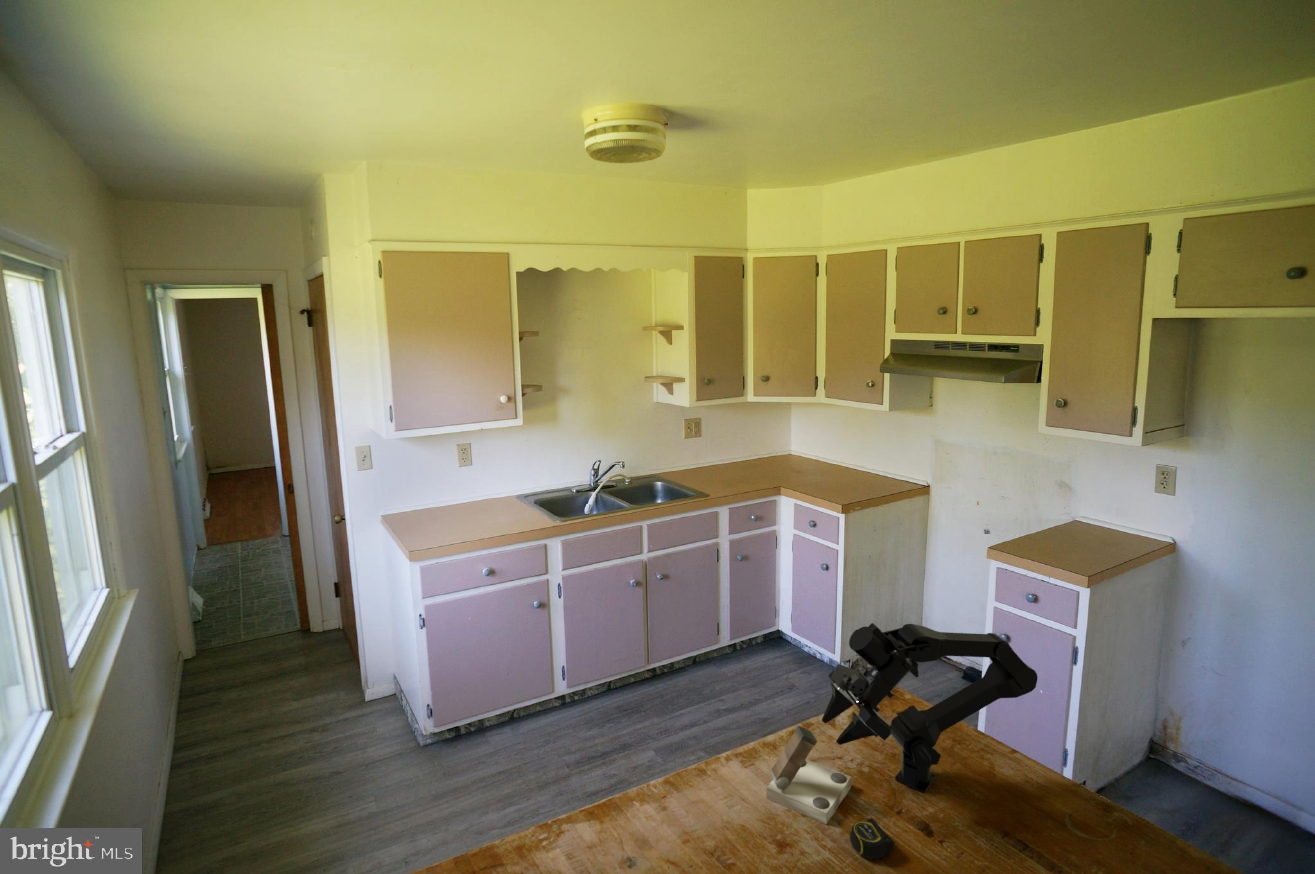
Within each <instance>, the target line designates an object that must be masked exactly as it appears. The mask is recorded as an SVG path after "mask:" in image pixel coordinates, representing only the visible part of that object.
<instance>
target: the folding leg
mask: <svg viewBox="0 0 1315 874" xmlns="http://www.w3.org/2000/svg"><path fill="white" fill-rule="evenodd" d="M817 743H818V741H817V738H816V737H815V735H814V734H813V731H810V730H808V729H806V728H804V727H802V726H800V725H797V726H796V728H795V730H794V732H793V734H792V735H791V737H790V739H789V741H788V742H787V743H786V745H785V747H784V748H783V750H782V752H781V753H780V754H779V757H778V758H777V760H776V762H775V763H774V765H773V766H772V768H771V771H770V776H771V778H772V780H774V782H775V784H776V786H777V788H778V789H781V790H783V789H786V788H787V787H788V786H789V785H790V783H791V782H792V780H793V779H794V777H795V775H796V774H797V772H798V771H799V769H800V767H801V766H802V764H803V762H804V761H805V759H807V757H808V756H809V754H810V752H811V751H812V749H813V748H814V747H815V746H816V745H817Z"/></svg>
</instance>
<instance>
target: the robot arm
mask: <svg viewBox="0 0 1315 874" xmlns="http://www.w3.org/2000/svg"><path fill="white" fill-rule="evenodd" d="M848 646H849V648H850V649H851V650H852V651H853V652H855V654H857V656H858V657H860V658H861V659H862V660H863V661H864V662H866V663H867V664H868V665H869V666H870V668H869V669H868V668H867V667H866V666H864V667H861V669H860V670H859V671H858V670H856V669H854V668H852V667H848V666H846V665H843V664H840V663H837V665H836V666H835V668H834V669H833V670H832V671H831V672H830V673H829V674H828V677H829V680H831V682H830V687H831V693H832V695H831V697H830V700H829V703H828V705H827V707H826V709H825V711H824V714H823V716H822V718H821V721H822V722H823V724H827V723H829V722H830V721H832V720H834V719H836V718H837V717H838V716H839V715H841V714H842V713H844V712H846V711H847V710H848V709H850V708H851V707H853V706H854V704H855V706H856V707H857V708H858V709H859V713H858V714H857V713H856V712H855V711H852V716H851V721H850V722H849V724H848V725H847V726H846V727H845V729H844V730H843V731H842V732H841V734H840V735H839V736H838V737H837V739H836V741H835V742H836V744H837V745H839V746H841V745H845V744H848V743H851V742H853V741H857V740H861V739H865V738H869V737H873V736H874V737H875V738H877V737H879V738H881V739H882V740H883V741H886V740H887V739H889V737H890V736H891V737H892V738H893V739H894V740H895V742H896V743H897V744H898V746H899V747H900V748H901V749H902V752H901V753H902V754H901V768H900V770H899V772H897V774H896V775H895V776H894V780H895V781H897V782H899V783H901V784H903V785H906V786H908V787H910V788H912V789H914V790H917V791H918V792H921V793H926V792H927V791H928V789H929V788H930V786H932V784H933V783H934V782H935V780H936V778H937V776H936V774H934V773H931V767H932V766H935V765H938V764H939V761H940V759H941V756H942V755H941V754H940V753H939V751H938V750H937V749H936V748H935V747H934V746H936V744H937V742H938V740H939V738H940V736H941V734H942V733H944V731H946V730H948V729H949V728H951V727H954V726H955V725H956V724H959V723H960V722H961V721H963V720H965V719H967V718H968V717H970V716H973V714H975V713H977V712H978V711H981V710H982V709H984V708H986V707H987V706H989V705H990V704H992V703H994V702H996V701H998V700H999V699H1017V698H1019V697H1022V696H1024V695H1027V694H1029V693H1032V691H1034V690H1035V689H1036V687H1037V683H1038V678H1039V677H1038V674H1037V671H1035V669H1034V668H1032V667H1031V666H1029V665H1028V664H1027V663H1025V662H1024V661H1023V660H1022V659H1021V657H1020V656H1019V655H1018V654H1017V653H1016V652H1015V651H1014V649H1013V648H1012V646H1011V645H1010V643H1009V642H1008V641H1006V640H1005V639H1003V638H1002V637H1001V636H999V634H998V635H997V634H996V633H994V632H993V633H992V632H987V633H966V632H965V633H963V632H947V631H946V632H944V631H942V632H941V631H938V630H937V631H936V630H935V629H931V628H929V627H927V626H923V625H920V624H915V623H906V624H904V625H903V626H902V627H899V628H895V629H891V630H887V631H882V630H881V629H880V628H879V627H878V626H877V625H876V624H875V623H874V622H872V623H870V624H869V625H867V626H866V625H865V626H862V627H859V628H858V629H855V630H854V631H853V632H852V634H851V636H850V637H849V640H848ZM943 657H969V658H971V657H972V658H989V659H990V661H991V663H990V664H989V665H988V666H987V669H986V671H985V673H984V676H982V677H981V678H979V679H977V680H975V681H974V682H972V683H970V684H969V685H967V686H966V687H964V688H961V689H960V690H959V691H958V690H957V692H955V693H953V694H952V695H950V696H948V697H947V698H944V699H943V700H941V701H940V702H938V703H936V704H934V705H932V706H931V707H929V708H927V709H922V710H919V709H918V708H917V707H916V706H915V705H914V704H913V705H909V706H908V707H907V708H906V709H904V710H903V711H900V712H896V716H895V717H894V718H892V720H891V721H890V724H889V723H888V721H886V719H885V718H884V717H883V716H882V715H881V714H880V713H879V712H880V711H881V709H880V708H879V706H878V705H880V703H881V702H883V700H884V699H885V698H886V697H888V698H889V699H892V698H893V697H894V695H895V694H894V693H893V692H892V691H893V690H894V688H895V687H897V685H898V684H900V683H901V681H902V680H904V678H905V677H906V676H907V675H908V674H909V673H910V674H912V675H913V676H914V677H915V678H918V677H919V669H918V668H919V664H923V663H924V664H925V663H928V662H929V663H931V662H936V661H938V660H940V659H941V658H943ZM918 663H919V664H918Z"/></svg>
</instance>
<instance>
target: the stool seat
mask: <svg viewBox="0 0 1315 874" xmlns="http://www.w3.org/2000/svg"><path fill="white" fill-rule="evenodd" d="M765 788H766V799H767V800H770V801H772V802H774V803H777V804H779V805H781V806H782V807H786V808H788V809H790V810H792V811H794V812H797V813H799V814H801V815H804V816H806V817H808V818H810V819H812V820H815V821H817V822H819V823H821V824H823V825H827V824H828V823H829V821H830V820H831V819H832V817H833V815H834V813H836V811H837V809H838V807H839V806H840V805H841V803H842V802H843V800H844V798H845V797H846V796H847V794H848V793H849V792H850V790H851V788H852V776H851V775H847V774H845V773H842V772H840V771H838V770H835V769H832V768H830V767H827V766H826V765H822V764H820V763H818V762H817V763H816V762H814V761H813V760H809V759H807V758H806V759H805V761H804V762H803V764H802V766H801V767H800V769H799V771H798V772H797V774H796V775H795V777H794V779H793V780H792V782H791V783H790V785H789V786H788V787H787V788H786V789H783V790H781V789H778V788H777V786H776V784H775V782H774V780H773V779H772V780H771V781H770V782H769V784H768V785H767V786H766V787H765Z"/></svg>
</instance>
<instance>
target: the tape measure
mask: <svg viewBox="0 0 1315 874" xmlns="http://www.w3.org/2000/svg"><path fill="white" fill-rule="evenodd" d="M849 842H850V844H851V847H852V848H853V849H854V850H855V852H857V853H858V854H859V855H860V856H862V857H864V858H866V859H871V860H877V859H881V858H883V857H884V856H887V855H889V854H891V853H893V851H895V842H894V841H893V839H892V838H891V837H890V835H889V834H887V833H886V832H885V831H884V829H882V827H881V826H880V825H879V824H878V823H877V821H876V820H875V819H873V818H872V817H870V818H867V819H866V820H859V821H857V822H855V823H854V824H853V825H852V827H851V831H850V834H849Z"/></svg>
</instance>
